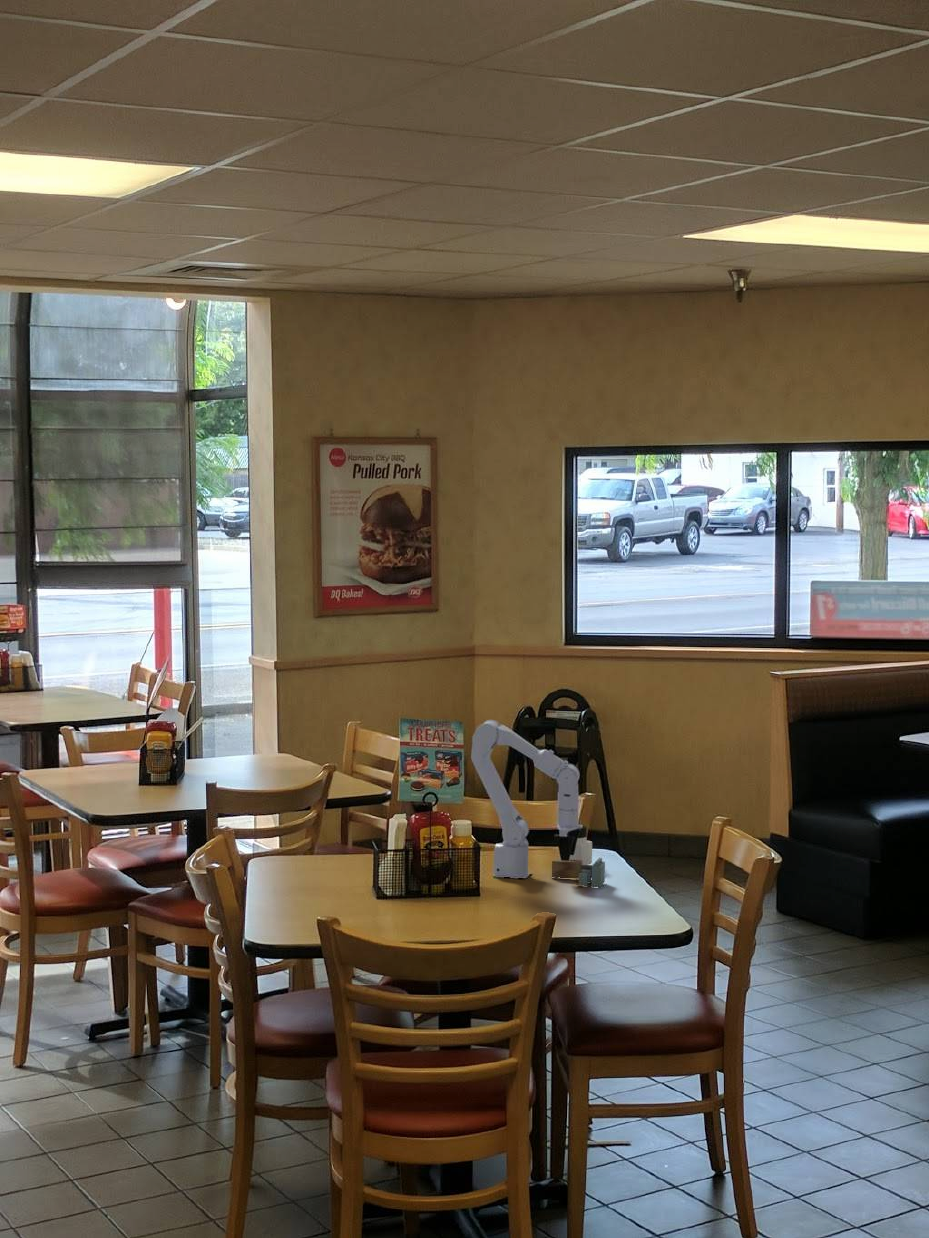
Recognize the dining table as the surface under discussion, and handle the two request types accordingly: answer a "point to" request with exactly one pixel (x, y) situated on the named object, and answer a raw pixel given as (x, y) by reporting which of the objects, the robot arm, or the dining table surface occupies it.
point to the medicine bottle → (582, 848)
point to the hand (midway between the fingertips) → (567, 857)
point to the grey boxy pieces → (593, 875)
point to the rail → (568, 868)
